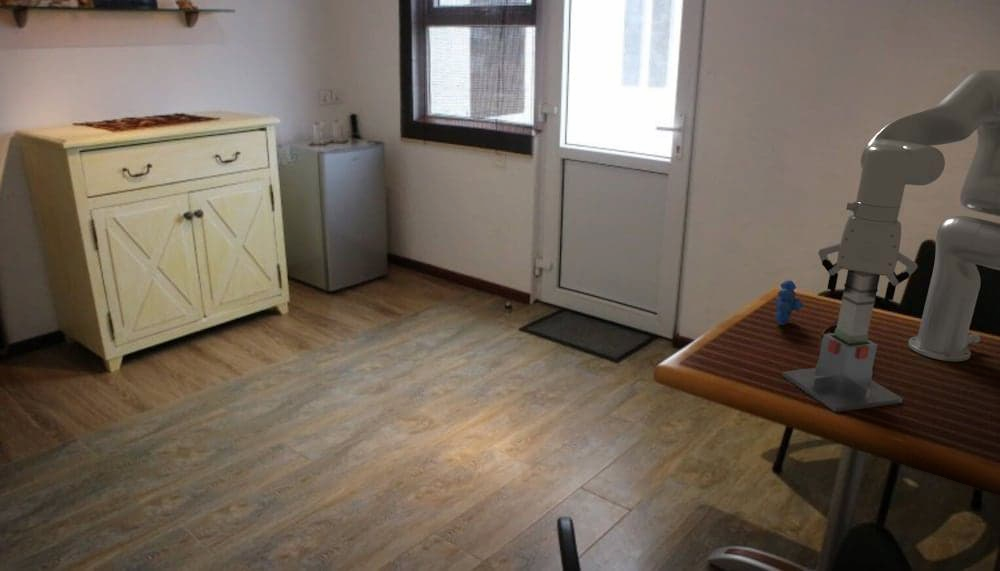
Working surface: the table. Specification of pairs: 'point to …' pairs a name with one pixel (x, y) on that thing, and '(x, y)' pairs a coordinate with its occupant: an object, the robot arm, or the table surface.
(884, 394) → the stand base
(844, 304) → the column
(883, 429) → the table surface
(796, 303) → the blue lumpy cluster
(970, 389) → the table surface
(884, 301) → the robot arm
